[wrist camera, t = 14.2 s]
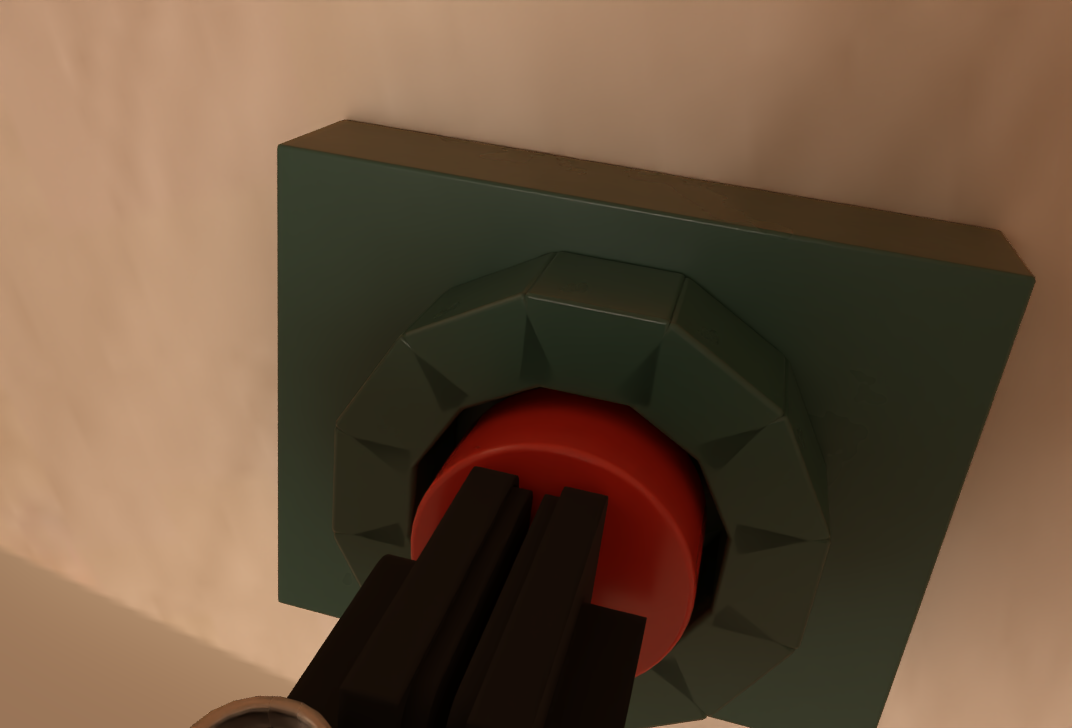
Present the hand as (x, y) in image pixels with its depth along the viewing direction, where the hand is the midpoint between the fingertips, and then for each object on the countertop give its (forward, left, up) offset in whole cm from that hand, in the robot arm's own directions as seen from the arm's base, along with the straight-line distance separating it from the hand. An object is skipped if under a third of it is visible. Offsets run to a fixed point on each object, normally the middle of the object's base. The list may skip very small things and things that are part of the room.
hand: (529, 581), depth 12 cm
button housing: (0, 0, -5) cm, 5 cm away
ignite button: (0, 0, -2) cm, 2 cm away
